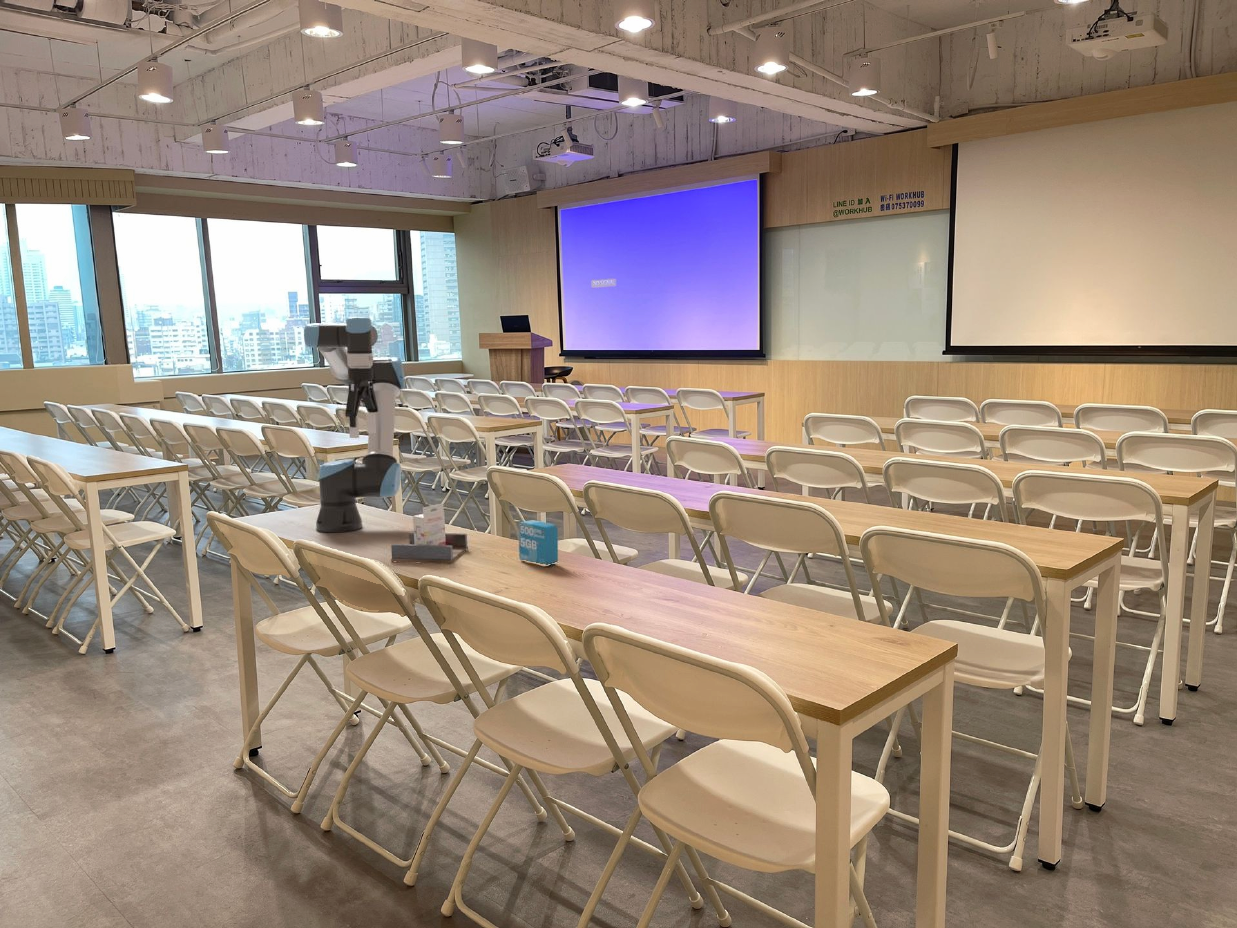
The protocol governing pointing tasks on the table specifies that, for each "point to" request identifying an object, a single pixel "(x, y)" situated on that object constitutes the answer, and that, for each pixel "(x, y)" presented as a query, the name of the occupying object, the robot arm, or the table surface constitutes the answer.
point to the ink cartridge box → (430, 526)
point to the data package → (538, 542)
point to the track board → (431, 550)
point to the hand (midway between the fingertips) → (363, 435)
